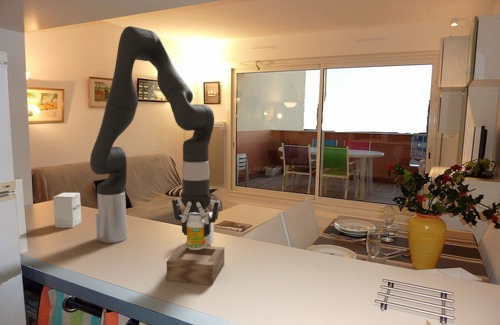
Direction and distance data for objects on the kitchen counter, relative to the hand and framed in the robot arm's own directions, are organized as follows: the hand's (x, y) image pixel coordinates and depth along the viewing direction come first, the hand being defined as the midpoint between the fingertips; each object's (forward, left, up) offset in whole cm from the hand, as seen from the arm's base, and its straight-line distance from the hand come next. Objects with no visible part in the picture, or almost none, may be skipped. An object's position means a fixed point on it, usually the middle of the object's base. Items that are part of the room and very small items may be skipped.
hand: (196, 234), depth 103 cm
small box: (-6, +23, -11) cm, 26 cm away
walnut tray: (0, 0, -11) cm, 11 cm away
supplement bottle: (0, 0, -4) cm, 4 cm away
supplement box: (-64, +31, -11) cm, 72 cm away
